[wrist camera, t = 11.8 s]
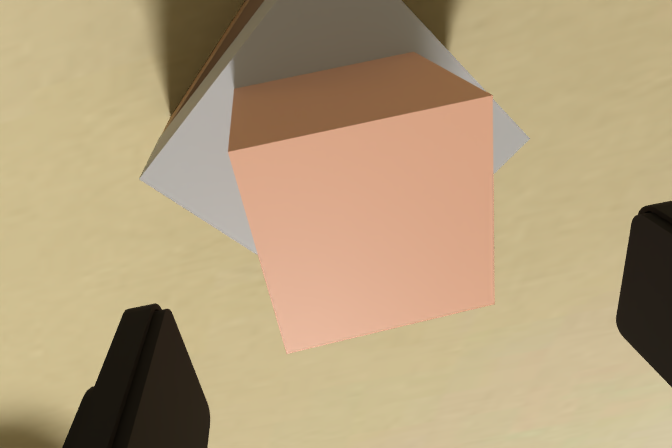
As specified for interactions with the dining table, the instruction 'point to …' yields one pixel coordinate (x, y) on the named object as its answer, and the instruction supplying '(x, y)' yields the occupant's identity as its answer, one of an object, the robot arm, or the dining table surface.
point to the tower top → (278, 63)
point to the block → (367, 196)
